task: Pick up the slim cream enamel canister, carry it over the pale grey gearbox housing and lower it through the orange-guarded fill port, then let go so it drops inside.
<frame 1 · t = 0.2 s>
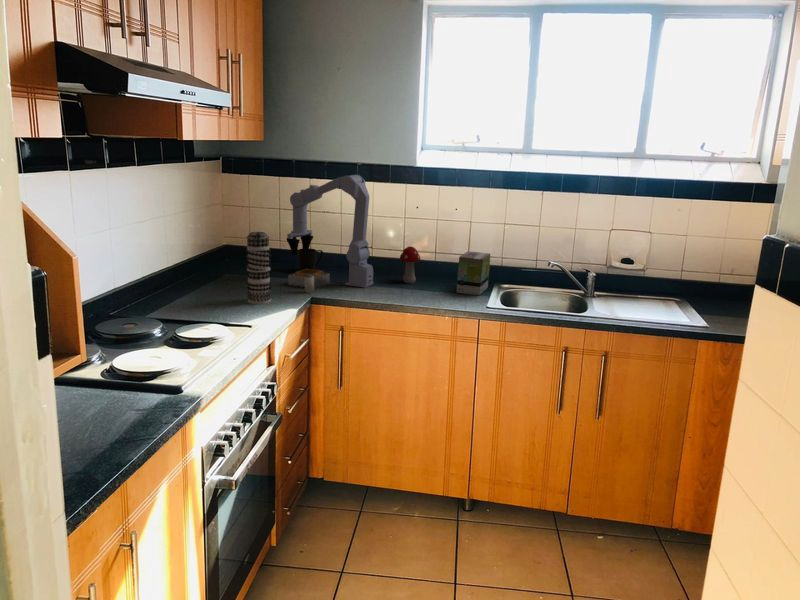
hand: (300, 253, 278), 10 cm above the worktop, tool pointing down, fingers open, 7 cm apart
housing: (309, 284, 268), on the worktop
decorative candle: (259, 301, 240), on the worktop
tea box: (472, 290, 267), on the worktop
mug: (310, 271, 293), on the worktop
decorative mushroom: (409, 282, 278), on the worktop
canister: (309, 291, 256), on the worktop
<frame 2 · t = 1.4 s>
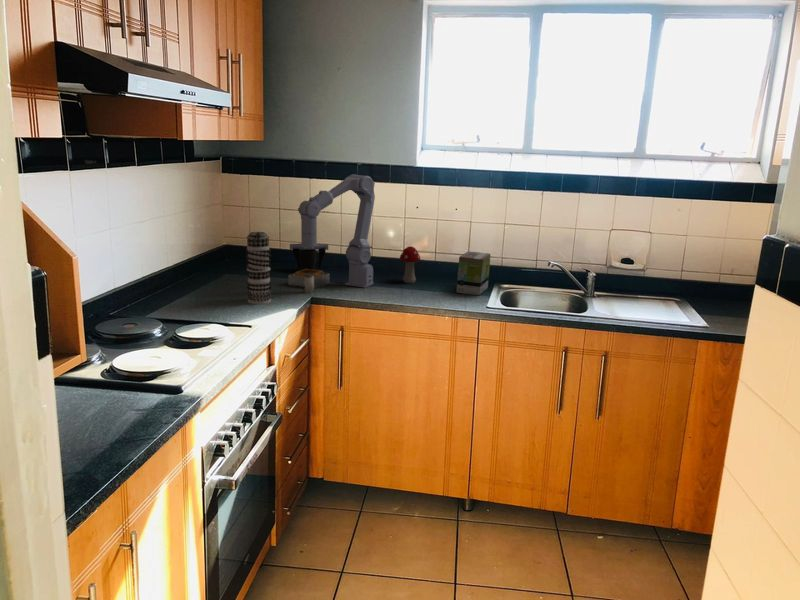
hand: (309, 268, 253), 9 cm above the worktop, tool pointing down, fingers open, 7 cm apart
nothing on the worktop moved.
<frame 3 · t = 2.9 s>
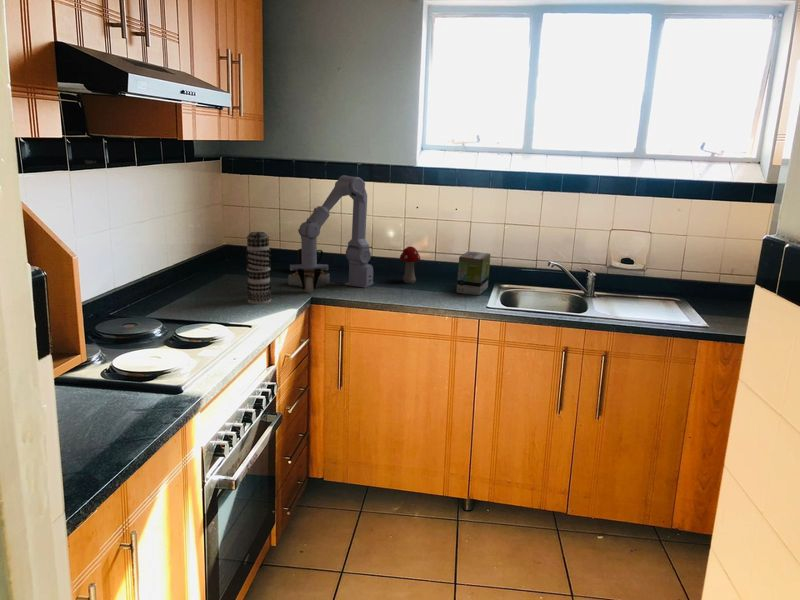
hand: (309, 288, 255), 1 cm above the worktop, tool pointing down, fingers closed on canister, 4 cm apart
canister: (309, 291, 256), on the worktop, touching gripper
everything else where it was.
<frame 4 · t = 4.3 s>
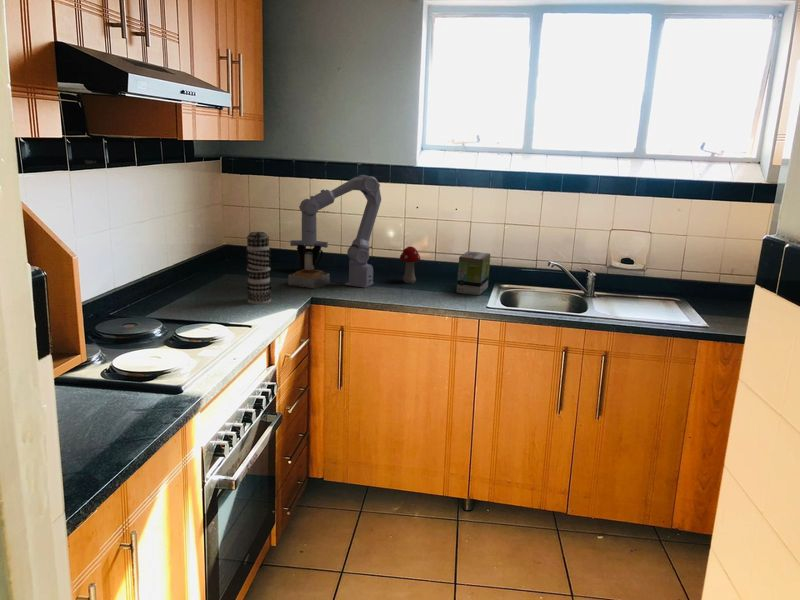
hand: (309, 264, 260), 9 cm above the worktop, tool pointing down, fingers closed on canister, 4 cm apart
canister: (309, 268, 260), point 8 cm above the worktop, touching gripper
everything else where it was.
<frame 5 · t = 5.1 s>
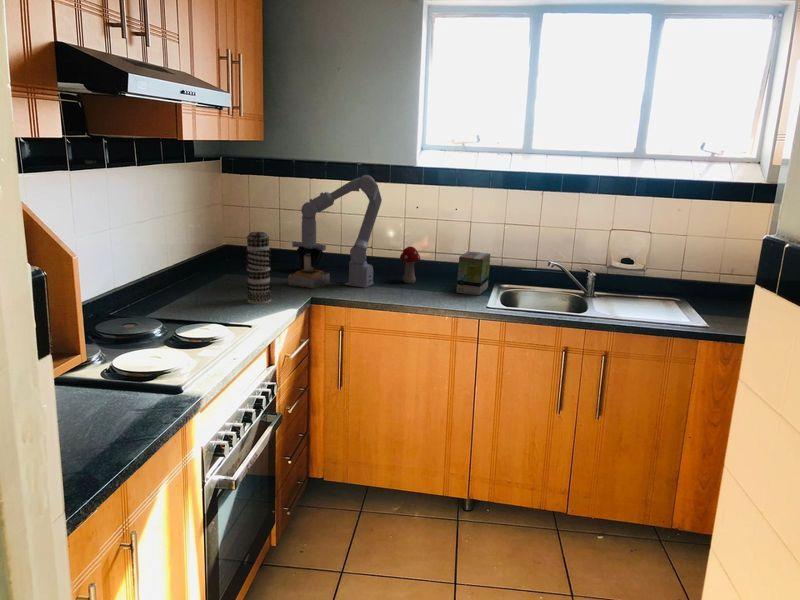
hand: (309, 266, 266), 7 cm above the worktop, tool pointing down, fingers closed on canister, 4 cm apart
canister: (308, 270, 266), point 6 cm above the worktop, touching gripper
everything else where it was.
when the fingers open (6 cm above the worktop, at t = 5.7 s): canister drops 4 cm, resting on housing.
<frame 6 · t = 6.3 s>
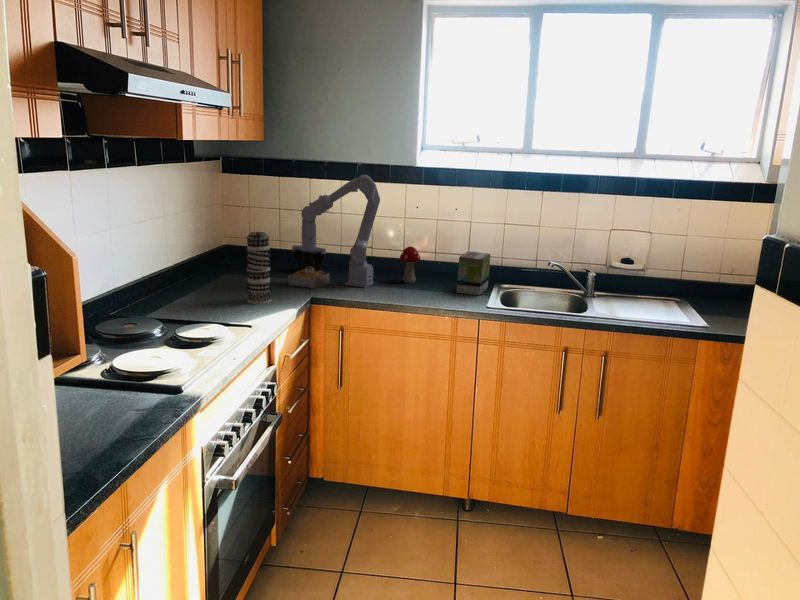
hand: (309, 269, 267), 6 cm above the worktop, tool pointing down, fingers open, 7 cm apart
canister: (308, 283, 268), resting on housing
everything else where it was.
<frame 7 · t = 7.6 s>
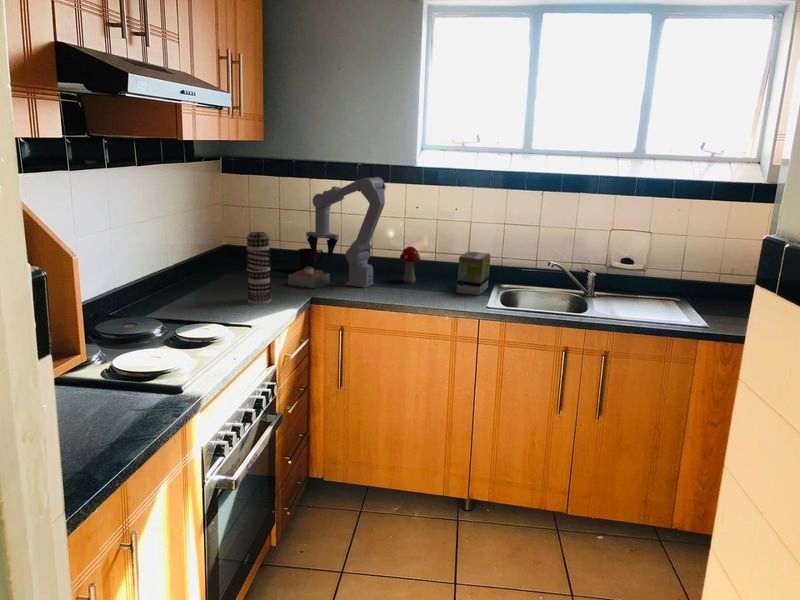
hand: (322, 255, 277), 10 cm above the worktop, tool pointing down, fingers open, 7 cm apart
nothing on the worktop moved.
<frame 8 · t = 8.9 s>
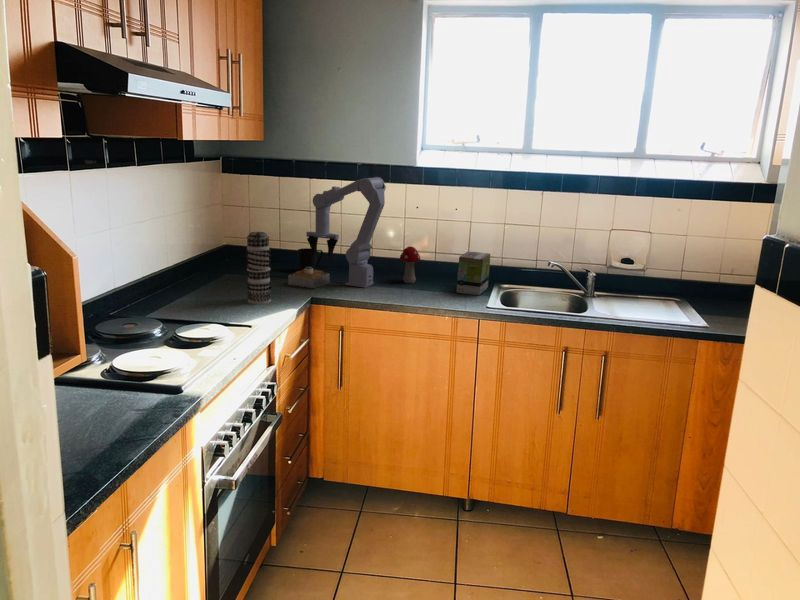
hand: (322, 255, 277), 10 cm above the worktop, tool pointing down, fingers open, 7 cm apart
nothing on the worktop moved.
at the end: canister 0.2 cm off-centre on the housing, point 0.4 cm above the housing's base; the gripper is holding nothing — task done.
